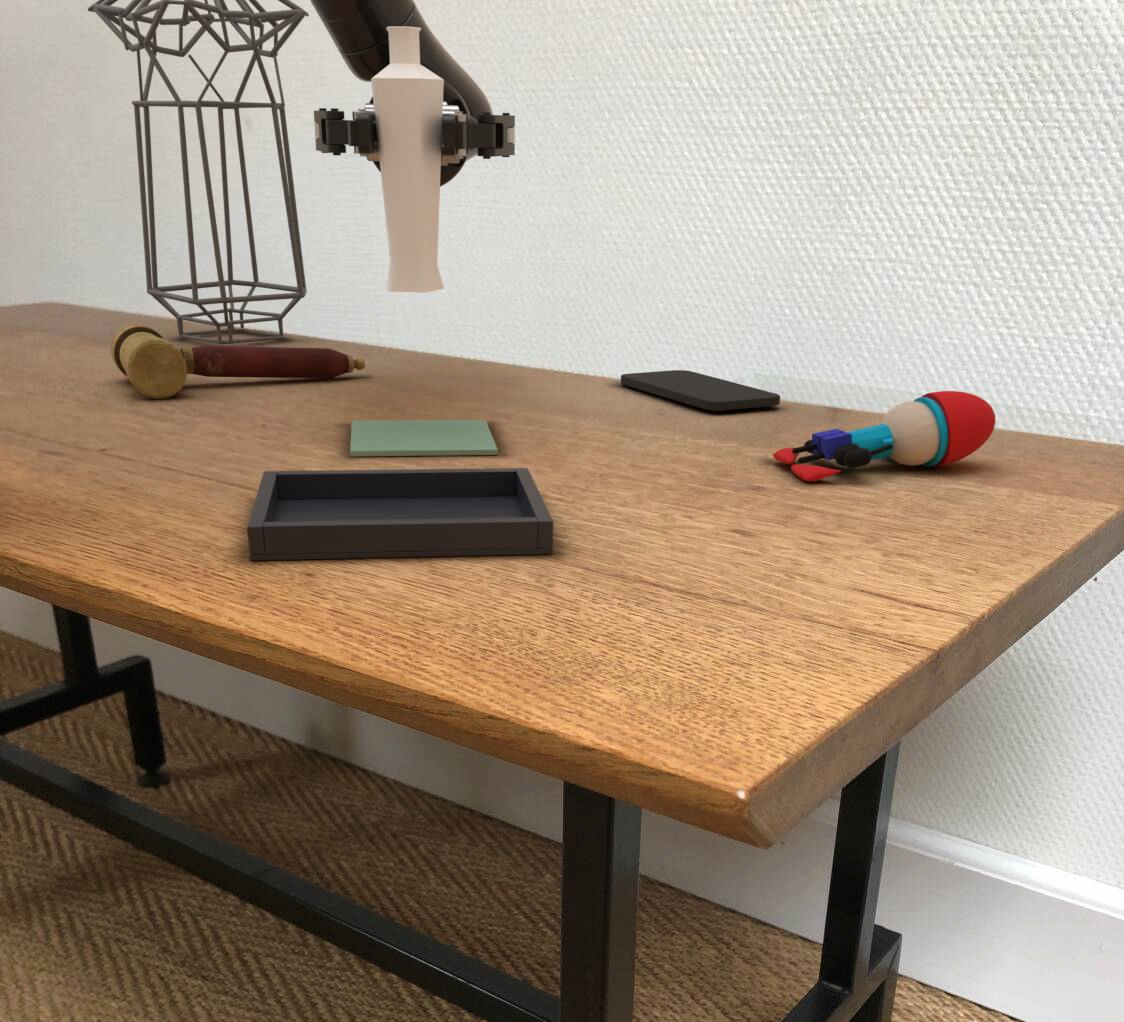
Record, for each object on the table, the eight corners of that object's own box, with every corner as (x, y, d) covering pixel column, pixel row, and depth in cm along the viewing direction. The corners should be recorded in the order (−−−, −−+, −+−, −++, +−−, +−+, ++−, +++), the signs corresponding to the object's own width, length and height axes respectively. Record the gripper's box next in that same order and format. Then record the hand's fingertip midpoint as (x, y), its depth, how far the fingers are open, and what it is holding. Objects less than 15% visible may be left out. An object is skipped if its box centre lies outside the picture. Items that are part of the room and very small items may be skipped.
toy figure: (813, 509, 81) (1022, 460, 83) (806, 432, 79) (1021, 385, 82) (768, 489, 88) (962, 445, 90) (760, 418, 86) (960, 374, 88)
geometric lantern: (337, 341, 131) (315, -56, 116) (204, 357, 121) (161, -77, 105) (250, 325, 141) (219, -43, 125) (121, 338, 130) (69, -62, 115)
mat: (350, 456, 85) (350, 450, 85) (352, 425, 94) (351, 420, 94) (497, 455, 87) (497, 449, 86) (485, 424, 95) (485, 419, 95)
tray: (249, 560, 64) (246, 526, 64) (266, 501, 75) (263, 470, 74) (552, 554, 66) (553, 521, 66) (527, 497, 77) (528, 467, 76)
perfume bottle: (362, 288, 83) (347, 26, 76) (413, 283, 86) (403, 30, 79) (408, 295, 80) (397, 24, 73) (459, 289, 83) (452, 28, 76)
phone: (685, 369, 115) (787, 396, 103) (684, 378, 115) (786, 406, 103) (615, 374, 112) (712, 402, 100) (614, 384, 112) (711, 413, 100)
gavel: (349, 329, 116) (383, 345, 108) (348, 381, 118) (382, 400, 110) (108, 322, 107) (126, 339, 99) (112, 378, 109) (129, 398, 101)
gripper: (318, 70, 90) (282, 61, 74) (519, 75, 90) (525, 67, 75) (324, 185, 93) (292, 199, 78) (518, 190, 94) (523, 204, 79)
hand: (406, 134), depth 77 cm, fingers closed on perfume bottle, 4 cm apart
